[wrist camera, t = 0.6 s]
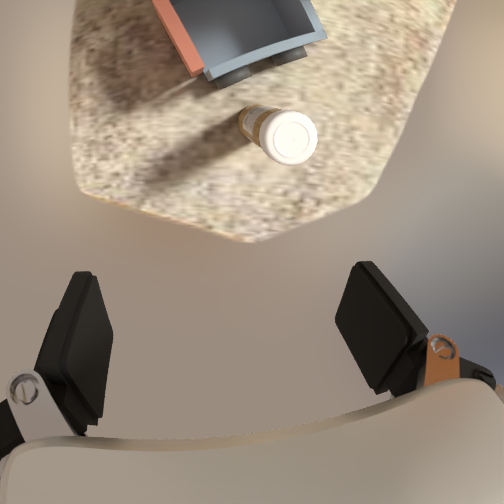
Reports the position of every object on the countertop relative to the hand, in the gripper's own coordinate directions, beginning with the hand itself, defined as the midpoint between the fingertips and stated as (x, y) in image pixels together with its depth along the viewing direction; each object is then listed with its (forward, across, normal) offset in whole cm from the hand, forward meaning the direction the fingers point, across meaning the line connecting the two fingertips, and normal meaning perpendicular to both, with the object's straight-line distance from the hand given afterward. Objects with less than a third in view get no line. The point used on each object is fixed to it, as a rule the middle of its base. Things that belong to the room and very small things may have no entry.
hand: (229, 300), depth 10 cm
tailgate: (+27, +3, -13) cm, 30 cm away
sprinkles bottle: (+28, -6, -3) cm, 29 cm away
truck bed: (+28, -3, -16) cm, 32 cm away
